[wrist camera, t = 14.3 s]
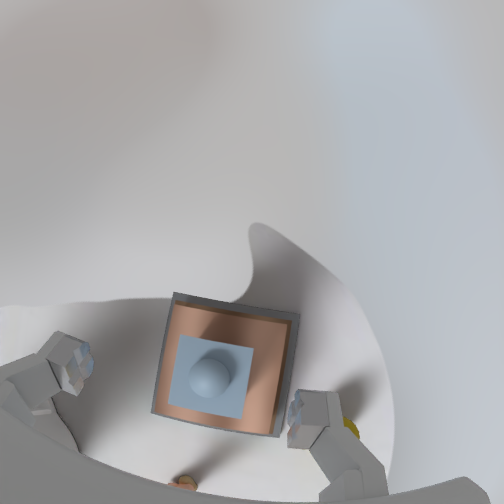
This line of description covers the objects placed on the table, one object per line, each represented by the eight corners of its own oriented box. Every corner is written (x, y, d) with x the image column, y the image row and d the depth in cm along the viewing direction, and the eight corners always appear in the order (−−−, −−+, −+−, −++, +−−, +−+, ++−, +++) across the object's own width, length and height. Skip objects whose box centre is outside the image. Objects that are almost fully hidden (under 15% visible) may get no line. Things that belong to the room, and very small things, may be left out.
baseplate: (153, 411, 31) (150, 412, 30) (175, 293, 37) (173, 291, 36) (278, 435, 31) (279, 437, 30) (298, 315, 36) (300, 314, 35)
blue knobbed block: (188, 390, 24) (164, 405, 16) (197, 340, 26) (177, 333, 18) (241, 400, 24) (241, 421, 16) (250, 349, 26) (254, 348, 18)
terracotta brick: (163, 405, 31) (143, 418, 23) (182, 305, 35) (166, 292, 28) (269, 425, 30) (277, 444, 23) (286, 324, 35) (298, 315, 27)
